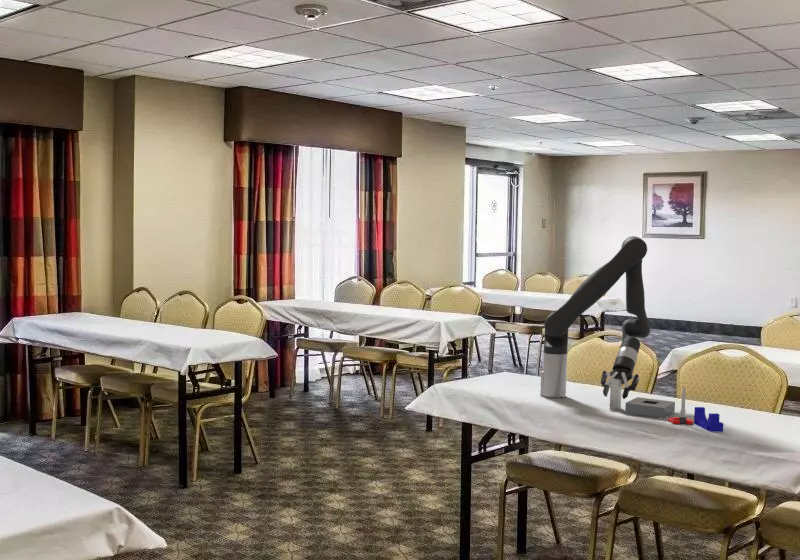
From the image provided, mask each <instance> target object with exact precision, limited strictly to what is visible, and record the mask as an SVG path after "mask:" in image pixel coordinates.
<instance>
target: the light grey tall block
mask: <svg viewBox="0 0 800 560" xmlns="http://www.w3.org/2000/svg"><path fill="white" fill-rule="evenodd" d="M622 385H623V384H622V379H614V378H613V379H611V387H610V388H609V393H610V394H609V395H610V396H609V410H616V411H617V410H620V409H622V387H623V386H622Z"/></svg>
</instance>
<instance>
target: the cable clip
mask: <svg viewBox="0 0 800 560" xmlns="http://www.w3.org/2000/svg"><path fill="white" fill-rule="evenodd" d="M693 415H694V417H693V425H696V426H697V427H699V428H702V429H703V430H705V431H707V432H710V433H711V432H714V433H716V432H718V433H723V432H724V423H723V422H722V421H720V414H719V413H708V417H707V415H706V407H704V406H694V414H693Z"/></svg>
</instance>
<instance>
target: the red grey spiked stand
mask: <svg viewBox="0 0 800 560" xmlns="http://www.w3.org/2000/svg"><path fill="white" fill-rule="evenodd" d="M680 407H681V408H680V412H679V413H680V414H679V415H680V416H679V417H677V416H675V417H673V416H672V417H667V421H668V422H670V423H672V424H673V425H681V424H685V425H684V426H686V425H687V426H689V425H690V426H693V425H694V419H691V418H687V417H686V387H685V386H683V387H682V392H681V406H680Z"/></svg>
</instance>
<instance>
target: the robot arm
mask: <svg viewBox="0 0 800 560" xmlns="http://www.w3.org/2000/svg"><path fill="white" fill-rule="evenodd" d="M647 253H648V246H647V242H645V241H644V240H643V239H642V238H640V237H638V236H633V235H632V236H628V237H627V238H625V239H624V240H623V242H622V244H621V248H620V249H619V250H618V252H617V253H616V254H615V255H614V256H613V257H612V258H611V259H610V260H609V261H607V262H606V263H605V264H603V265H602V266H600V267H599V268H598V269H596V270H594V271H593V272H592V273H591V274H590V275H589V276H588V277H587V278H586V279H585V280H583V282H582V283H581V284H580V285H579V286H578V287H577V288H576V290H575V291H574V292H573V293H572V294H571V296H569V299H567V301H566V302H565V303H564V304H563V305H561V307H559V308H557V310H555V311H554V312H552V313H550V314H548V315H547V316H546V319H545V320H544V323H543V324H544V326H543V327H544V341H543V361H542V362H543V365H542V371H541V372H540V389H539V390H540V392H539V393H540V396H543V397H545V398H551V399H552V398H554V399H555V398H557V399H558V398H559V399H560V398H561V397H562V398H566V397H565V396H567V394H566V393H567V392H566V391H567V369H568V368H567V367H568V346H569V345H568V343H569V329H570V327H571V326H572V324H573V323H574V322H575V321H576V320H577V319H578V318H579V317H580V316H581V315H582V314H583V313H585V312H586V311H588V310H589V309H590V308H591V307H592V306H594V305H595V304H596V303H597V302H598V301H599V300H601V298H603V297H604V295H606V294H607V293H608V291H609V290H611V288H612V287H614V286H615V284H617V282H619V280H620V279H621V277H623V275H624V274H625V306H626V312H627V313H628V314H631V315H634V316H636V317H637V319H635V318H634V319H633V318H631V319H629V318H628V319H625V320H624V321H623V322H622V325H621V326H622V327H621V331H622V332H621V333H622V336H621V343H620V347H619V348H618V352H617V354H616V356H615V359H614V363H613V365H612V369H611V370H610V371H606V370H603V371H602V373H601V374H602V375H601V378H600V384H601V385H600V386H601V387H602V388H603V390H602V393H603V396H604V397H606V398H607V397H608V394H609V392H610V387H611V379H613V378H614V379H622V385H624V386H625V387H624V389H623V392H622V393H621V398H622V400H626V398H628V397H629V393H630V391H635V390H636V388H637V386H638V384H639V382H640V376H639V374H638V373H637V374H633V373H634V369H635V366H636V365H637V359H638V354H639V351H640V348H641V341H640V340H639V339H645V338H648V336H649V335H650V333H651V325H650V322H649V319H648V316H647V313H646V307H645V306H646V304H645V303H646V302H645V301H646V299H645V298H646V297H645V288H644V281H643V270H642V268H643V259H644V258H645V257H646V256H647ZM630 380H632V381H631V384H630V385H629V383H628V382H629V381H630Z"/></svg>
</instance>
